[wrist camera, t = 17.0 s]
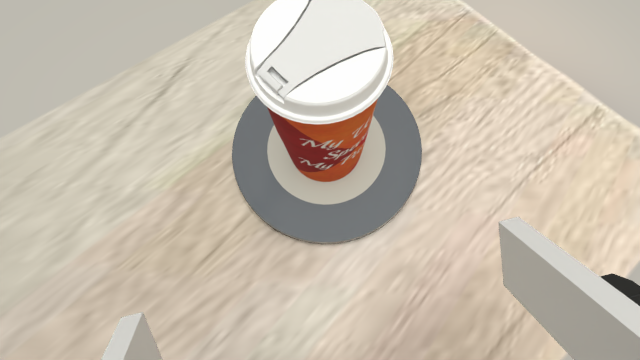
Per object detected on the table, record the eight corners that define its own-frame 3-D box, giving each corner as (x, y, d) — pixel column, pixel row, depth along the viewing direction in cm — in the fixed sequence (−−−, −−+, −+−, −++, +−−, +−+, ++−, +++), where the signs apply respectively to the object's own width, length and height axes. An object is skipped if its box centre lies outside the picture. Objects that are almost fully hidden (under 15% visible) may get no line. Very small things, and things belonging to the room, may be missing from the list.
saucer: (251, 263, 36) (248, 261, 35) (223, 92, 41) (219, 85, 40) (442, 220, 37) (446, 216, 36) (391, 56, 42) (393, 48, 41)
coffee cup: (323, 216, 36) (314, 143, 22) (257, 148, 38) (208, 41, 24) (396, 148, 38) (431, 39, 23) (328, 86, 40) (322, -48, 26)
